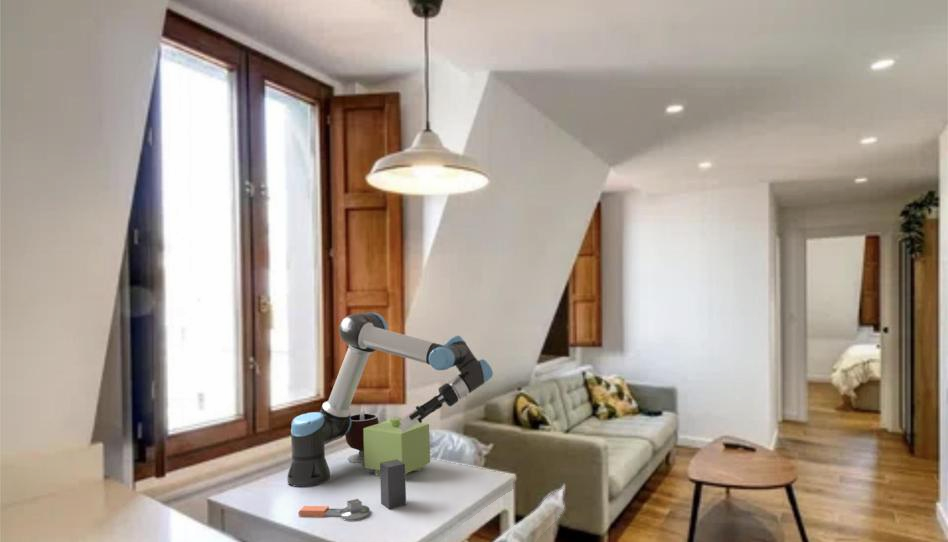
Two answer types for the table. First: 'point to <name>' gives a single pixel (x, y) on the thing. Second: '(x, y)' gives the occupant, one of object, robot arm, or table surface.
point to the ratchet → (338, 511)
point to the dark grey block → (393, 484)
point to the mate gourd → (359, 434)
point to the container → (396, 445)
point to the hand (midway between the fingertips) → (401, 427)
